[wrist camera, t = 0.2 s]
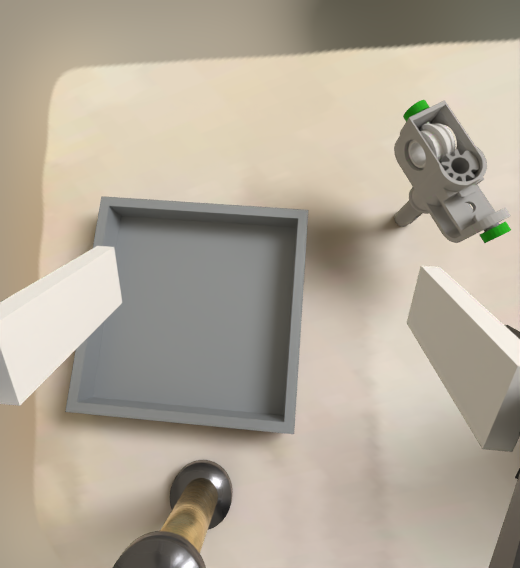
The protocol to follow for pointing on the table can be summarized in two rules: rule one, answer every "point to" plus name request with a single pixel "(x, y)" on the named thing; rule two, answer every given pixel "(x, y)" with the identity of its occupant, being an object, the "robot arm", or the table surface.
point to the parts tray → (197, 316)
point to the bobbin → (184, 520)
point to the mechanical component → (445, 175)
